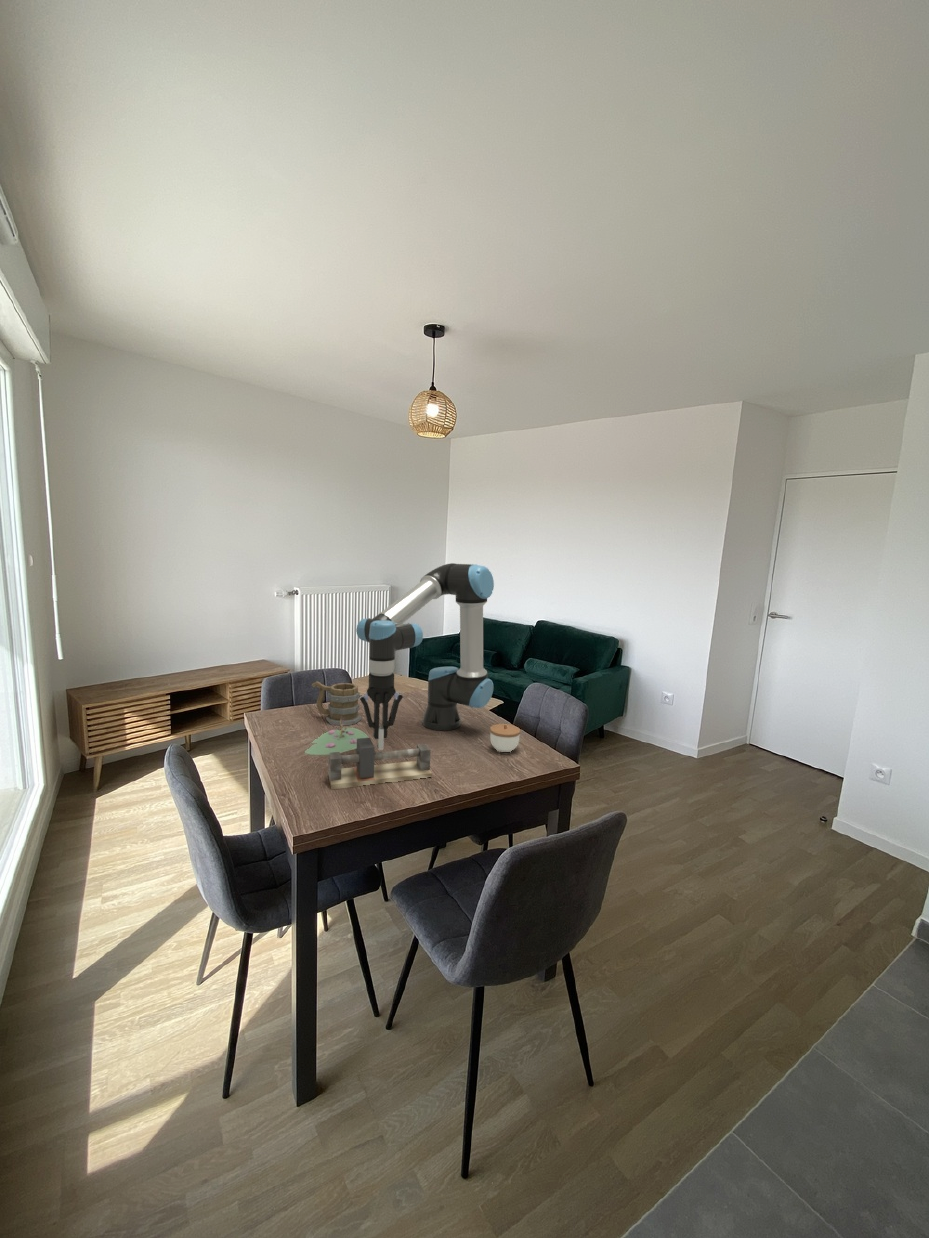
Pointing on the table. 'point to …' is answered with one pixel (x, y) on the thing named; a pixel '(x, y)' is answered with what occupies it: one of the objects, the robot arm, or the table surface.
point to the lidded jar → (504, 737)
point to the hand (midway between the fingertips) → (380, 748)
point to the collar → (365, 757)
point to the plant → (336, 741)
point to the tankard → (340, 703)
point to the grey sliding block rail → (380, 768)
